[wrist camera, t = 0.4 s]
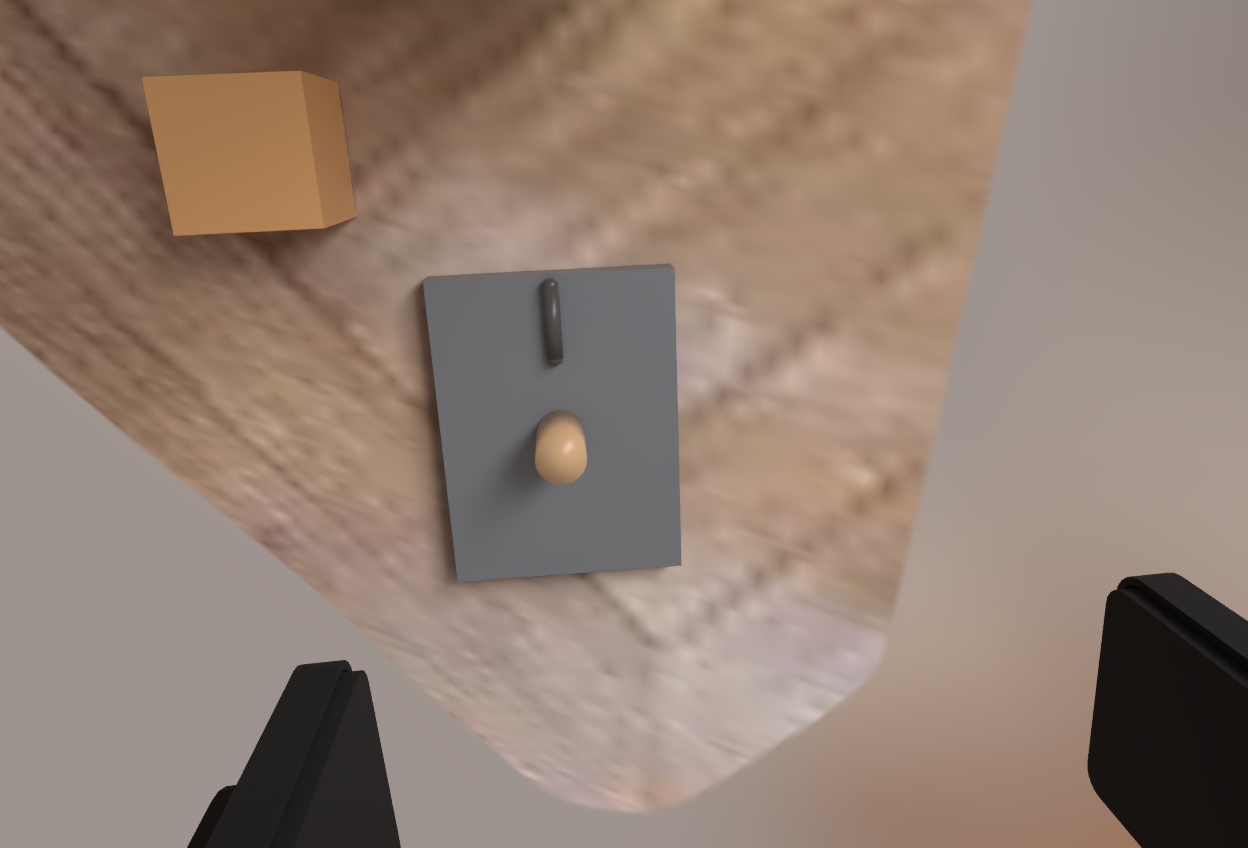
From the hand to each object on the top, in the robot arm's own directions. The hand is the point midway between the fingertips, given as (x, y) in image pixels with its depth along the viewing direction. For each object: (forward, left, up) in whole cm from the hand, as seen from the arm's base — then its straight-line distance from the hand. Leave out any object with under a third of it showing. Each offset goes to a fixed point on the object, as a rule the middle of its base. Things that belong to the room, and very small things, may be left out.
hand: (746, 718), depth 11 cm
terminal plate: (+7, -3, -34) cm, 34 cm away
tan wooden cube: (-7, -15, -34) cm, 37 cm away
